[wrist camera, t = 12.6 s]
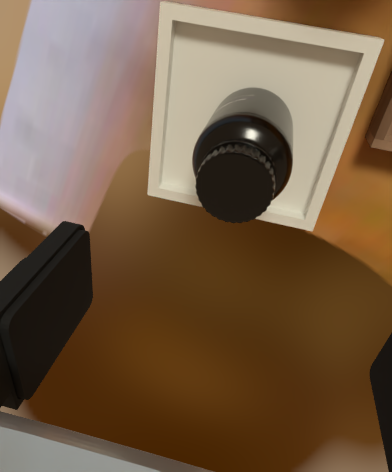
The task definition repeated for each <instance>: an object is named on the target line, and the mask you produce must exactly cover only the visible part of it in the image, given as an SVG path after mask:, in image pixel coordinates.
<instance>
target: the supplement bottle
mask: <svg viewBox="0 0 392 472" xmlns="http://www.w3.org/2000/svg"><path fill="white" fill-rule="evenodd" d="M192 167H193V173H194V176H195V178H196V185H195V188H196V190H197V191H196V194H197V196H198V200H199V201H200V202H201V204H202V207H204V208H205V209H206V211H207V212H209V213H211V215H212V216H214V217H217V218H218V219H219V220H224V221H225V222H232V223H236V222H238V223H242V222H248V221H250V220H253V219H255V218H256V217H258V216H261V214H262V213H263V212H265V211H266V210H267V207H268V206H270V204H271V201H273V200H274V199H275V198H276V197H278V196H279V195H280V194H281V192H282V191H283V190H284V188H285V187H286V185H287V183H288V181H289V179H290V176H291V173H292V167H293V122H292V117H291V114H290V111H289V109H288V107H287V106H286V104H285V103H284V101H283V100H282V99H281V98H280V97H278V96H277V95H276V94H274V93H273V92H271V91H268V90H266V89H262V88H254V87H252V88H244V89H240V90H238V91H235V92H233V93H232V94H230V95H229V96H227V97H226V98H225V99H224V100H223V101H222V102H221V103H220V105H219V106H218V107H217V109H216V110H215V112H214V113H213V115H212V117H211V118H210V120H209V121H208V123H207V124H206V126H205V128H204V129H203V131H202V132H201V134H200V136H199V137H198V139H197V142H196V144H195V147H194V150H193V155H192Z"/></svg>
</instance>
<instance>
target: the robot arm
mask: <svg viewBox="0 0 392 472" xmlns="http://www.w3.org/2000/svg"><path fill="white" fill-rule="evenodd" d="M92 298H93V291H92V272H91V253H90V236H89V232H88V231H85V228H84V226H83V225H80V224H75V223H71V222H66V221H63V222H62V223H61V224H60V225H59V226H58V227H57V228H56V229H55V230H54V231H53V232H52V233H51V234H50V235H49V236H48V237H47V238H46V239H45V240H44V241H43V242H42V243H41V244H40V245H39V246H38V247H37V248H36V249H35V250H34V251H33V252H32V253H31V254H30V255H29V256H28V257H27V258H24V259H23V260H22V261H20V262H19V264H17V265H16V266H15V267H14V268H13V269H12V270H11V271H10V272H9V273H8V274H7V275H6V276H5V277H4V278H3V279H2V280H1V281H0V407H1V406H5V407H9V408H12V409H15V410H17V409H18V408H19V406H20V405H21V403H22V402H23V400H24V399H26V400H28V399H30V398H31V397H32V396H33V394H34V393H35V391H36V390H37V388H38V386H39V385H40V383H41V382H42V380H43V379H44V377H45V375H46V374H47V372H48V371H49V369H50V368H51V366H52V365H53V363H54V361H55V360H56V358H57V357H58V355H59V353H60V352H61V351H62V349H63V347H64V346H65V344H66V343H67V341H68V340H69V338H70V336H71V335H72V333H73V332H74V330H75V329H76V327H77V326H78V324H79V323H80V321H81V319H82V318H83V316H84V315H85V313H86V312H87V310H88V308H89V307H90V305H91V302H92ZM370 380H371V385H372V390H373V395H374V400H375V405H376V410H377V415H378V420H379V425H380V430H381V435H382V440H383V445H384V449H385V455H386V459H387V464H388V469H389V472H392V333H391V335H390V337H389V338H388V340H387V341H386V343H385V345H384V346H383V348H382V349H381V351H380V352H379V354H378V356H377V357H376V359H375V361H374V362H373V364H372V366H371V369H370ZM0 472H213V471H209V470H206V469H202V468H199V467H196V466H192V465H189V464H185V463H182V462H178V461H175V460H171V459H168V458H164V457H161V456H158V455H154V454H151V453H147V452H143V451H140V450H137V449H133V448H130V447H126V446H123V445H119V444H116V443H112V442H109V441H105V440H102V439H98V438H95V437H92V436H88V435H85V434H81V433H78V432H74V431H71V430H67V429H64V428H60V427H56V426H53V425H49V424H45V423H42V422H38V421H34V420H30V419H26V418H23V417H19V416H15V415H12V414H8V413H4V412H0Z"/></svg>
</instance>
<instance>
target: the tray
mask: <svg viewBox="0 0 392 472" xmlns="http://www.w3.org/2000/svg"><path fill="white" fill-rule="evenodd" d="M383 43H384V39H381V38H379V37H375V36H369V35H363V34H357V33H351V32H345V31H340V30H334V29H328V28H322V27H316V26H310V25H304V24H298V23H292V22H287V21H281V20H275V19H269V18H263V17H257V16H251V15H245V14H239V13H233V12H228V11H222V10H216V9H210V8H204V7H198V6H192V5H186V4H180V3H175V2H169V1H165V2H160V14H159V29H158V44H157V59H156V74H155V89H154V104H153V119H152V134H151V150H150V165H149V180H148V195H150V196H154V197H159V198H163V199H168V200H173V201H177V202H182V203H186V204H191V205H195V206H200V207H202V204H201V202H200V201H199V200H198V196H197V194H196V191H197V190H196V188H195V185H196V178H195V176H194V173H193V167H192V155H193V150H194V147H195V144H196V142H197V139H198V137H199V136H200V134H201V132H202V131H203V129H204V128H205V126H206V124H207V123H208V121H209V120H210V118H211V117H212V115H213V113H214V112H215V110H216V109H217V107H218V106H219V105H220V103H221V102H222V101H223V100H224V99H225V98H226V97H227V96H229V95H230V94H232V93H233V92H235V91H238V90H240V89H244V88H252V87H254V88H262V89H266V90H268V91H271V92H273V93H274V94H276V95H277V96H278V97H280V98H281V99H282V100H283V101H284V103H285V104H286V106H287V107H288V109H289V111H290V114H291V117H292V122H293V167H292V173H291V176H290V179H289V181H288V183H287V185H286V187H285V188H284V190H283V191H282V192H281V194H280V195H279V196H278V197H276V198H275V199H274V200H273V201H271V204H270V206H268V207H267V210H266V211H265V212H263V213H262V214H261V216H258V217H256V218H255V219H259V220H263V221H268V222H272V223H277V224H281V225H286V226H290V227H295V228H299V229H304V230H308V231H313V228H314V226H315V223H316V220H317V218H318V215H319V212H320V210H321V207H322V205H323V202H324V199H325V197H326V194H327V191H328V189H329V186H330V183H331V181H332V178H333V175H334V173H335V170H336V167H337V165H338V162H339V159H340V157H341V154H342V152H343V149H344V146H345V144H346V141H347V138H348V136H349V133H350V130H351V128H352V125H353V122H354V120H355V117H356V114H357V112H358V109H359V106H360V104H361V101H362V99H363V96H364V93H365V91H366V88H367V85H368V83H369V80H370V77H371V75H372V72H373V69H374V67H375V64H376V61H377V59H378V56H379V54H380V51H381V48H382V46H383Z"/></svg>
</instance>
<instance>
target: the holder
mask: <svg viewBox="0 0 392 472" xmlns="http://www.w3.org/2000/svg"><path fill="white" fill-rule="evenodd" d="M365 138H366V140H367V141H368V143H369V145H370V147H372V148H377V149H382V150H387V151H392V72H391V74H390V77H389V79H388V82H387V84H386V87H385V89H384V92H383V94H382V97H381V99H380V102H379V104H378V107H377V109H376V112H375V114H374V116H373V119H372V121H371V124H370V126H369V129H368V131H367V134H366V136H365Z"/></svg>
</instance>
